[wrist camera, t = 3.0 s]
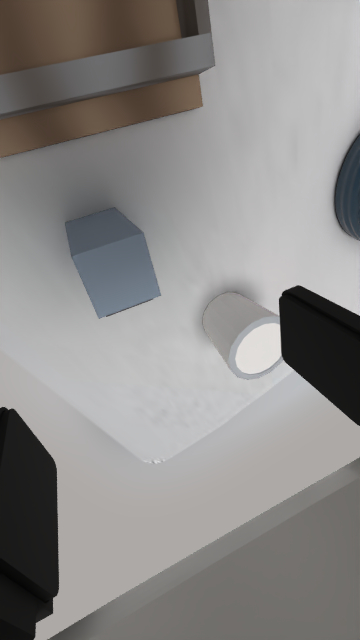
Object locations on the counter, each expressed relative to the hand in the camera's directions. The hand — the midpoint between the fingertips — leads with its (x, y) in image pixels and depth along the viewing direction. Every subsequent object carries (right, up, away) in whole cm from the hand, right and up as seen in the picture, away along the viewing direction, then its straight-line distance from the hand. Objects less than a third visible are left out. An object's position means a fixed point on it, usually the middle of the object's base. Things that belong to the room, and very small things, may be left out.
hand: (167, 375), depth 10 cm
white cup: (+5, +2, +23) cm, 24 cm away
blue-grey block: (-6, +8, +14) cm, 18 cm away
